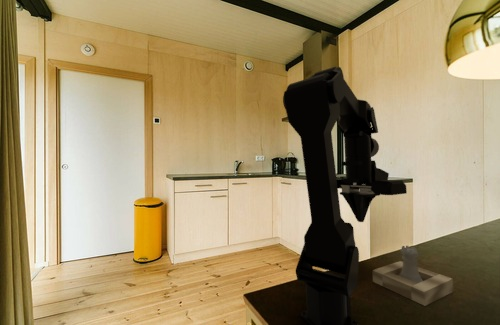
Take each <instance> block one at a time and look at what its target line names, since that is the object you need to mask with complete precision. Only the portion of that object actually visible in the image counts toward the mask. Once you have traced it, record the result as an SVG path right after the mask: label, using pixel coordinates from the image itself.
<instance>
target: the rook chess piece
mask: <svg viewBox="0 0 500 325" xmlns="http://www.w3.org/2000/svg"><path fill="white" fill-rule="evenodd" d="M417 249H418V248H416V247H414V246H410V247H409V245H402V246H401V249H400V250H399V252H400V253H401V255H402V257H401V258H400V259H401V261H402V262H403V267H402V271H401V274H400V275H399V276H400V277H403V278H405V279H408V280H410V281H413V282H415V283H420V282H422V281H423V280H422V279H421V278H420V277H421V276H420V275H419V272H418V268H417V267H418V262H419V260H418V259H417V258H418V256H419V255H420V253H419V252H418V250H417Z"/></svg>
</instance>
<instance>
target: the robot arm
mask: <svg viewBox="0 0 500 325" xmlns="http://www.w3.org/2000/svg"><path fill="white" fill-rule="evenodd" d="M282 103H283V107H284V109H285V112H286V116H287V121H288V124H290V126H291V127H292V128H293V130H294V131H295V132H296V133H297V134H298V136H299V137H300V141H301V142H300V143H301V148H302V149H301V150H302V157H303V166H304V174H305V179H306V181H305V182H306V188H307V196H308V204H309V210H310V217H311V218H310V220H311V221H310V222H311V223H310V224H309V226H308V228H307V230H306V232H305V233H304V238H303V241H304V243H303V246H302V250H301V252H300V256H299V258H298V261H297V264H296V267H295V277H296V279H297V281H298V282H303V283H305V293H306V310H303V311H301V312H300V316H301V318H302V319H304V320H305V321H306V322H307V323H308V324H310V325H359V323H358V321H357V320H355V319H354V318H352V317H351V296H352V295H353V294H352V293H353V292H354V291H355V289H356V288H357V287H358V283H359V265H360V263H359V262H360V252H359V248H358V246H356V241H355V235H354V234H355V232H354V230H355V229H354V227H353V225H352V223H351V222H345V221H344V219H343V218H342V214H341V207H340V199H339V198H340V197H339V194H340V195H341V196H342V197H343V198H344V200H345V201H346V203H347V205H348V206H349V208H350V209H351V212H352V213H353V214H354V217H355V219H356V220H357V222H358V223H364V222H365V219H366V216H367V213H368V210H369V208H370V206H371V203H372V201H373V199H374V198H376V197H377V196H378V197H379V196H381V195H382V196H396V195H397V196H398V195H403V194H405V195H406V194H407V184H406V183H405V182H404V181H403V180H402V179H400V180H399V179H389V176H390V173H389V172H387V171H385V170H383V169H381V168H378V167H377V163H376V160H372V158H374V156H376V155H378V152H379V150H380V145H379V143H378V141H377V140H376V139H375V138H373V137H372V134H377V133H379V129H378V125H377V119H376V113H375V109H374V107H373V106H372V107H371V104H370V103H369V102H368V101H367V100H363V99H358V98H357V96H356V95H355V94H354V92H353V91H352V89H351V87H350V86H349V84H348V82H347V81H346V80H345V78H344V73H343V70H342V68H341V67H340V66H337V67H336V66H332V67H329V68H326V69H323V70H319V71H317V72H314V74H312V75H311V76H310V77H308V78H305V79H302V80H298V81H295V82H292V83H289V85H287V87H286V90H285V91H284V92H283V96H282ZM336 123H337V125H338V128H339V130H340V133H341V135H342V137H343V139H344V158H345V159H344V161H341V167H343V166H344V167H345V177H344V178H337V171H336V164H335V163H336V162H335V155H334V153H335V152H334V145H333V137H332V136H333V135H332V131H333V130H334V127H335V125H336ZM339 189H341V191H340V192H339ZM313 267H315V268H313ZM316 268H319V269H316ZM320 269H323V270H326V271H323V270H320ZM327 271H329V272H327ZM331 272H333V273H331ZM334 273H337V274H334ZM338 274H341V275H344V276H341V275H338Z"/></svg>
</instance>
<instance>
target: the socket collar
mask: <svg viewBox="0 0 500 325" xmlns="http://www.w3.org/2000/svg"><path fill="white" fill-rule="evenodd" d="M402 267H403V260H399V261H396V262H394V263H390V264H388V265H383V266H381V267H378V268H375V269H373V270H372V282H373V283H375V284H377V285H379V286H381V287H384V288H386V289H388V290H390V291H392V292H394V293H396V294H398V295H400V296H403V297H404V298H406V299H408V300H411V301H413V302H415V303H418V304H420V305H422V306H424V307H426V306H428V305H430V304H432V303H435V302H436V301H438V300H440V299H442V298H444V297H445V296H447V295H449V294H452V293H454V280H453V277H452V278H451V277H449V276H447V275H443V274H440V273H436V272H434V271H431V270H429V269H425V268H422V267H419V266H417V268H418V272H419V275H420V276H421V277H420V278H421V279H422V280H423V281H422V282H420V283H415V282H413V281H410V280H408V279H405V278H403V277H400V276H399V275H400V274H401V271H402Z"/></svg>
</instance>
